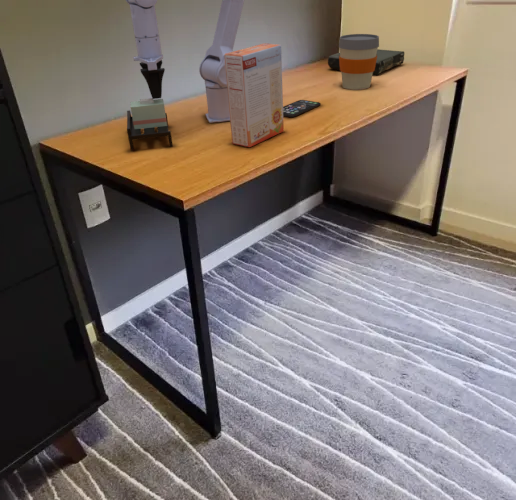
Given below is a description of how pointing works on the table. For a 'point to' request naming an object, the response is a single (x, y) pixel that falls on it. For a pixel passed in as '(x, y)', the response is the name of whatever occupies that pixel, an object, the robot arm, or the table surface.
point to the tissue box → (148, 113)
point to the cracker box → (255, 93)
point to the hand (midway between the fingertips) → (156, 94)
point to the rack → (146, 132)
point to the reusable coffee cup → (357, 59)
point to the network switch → (383, 60)
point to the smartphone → (298, 107)
